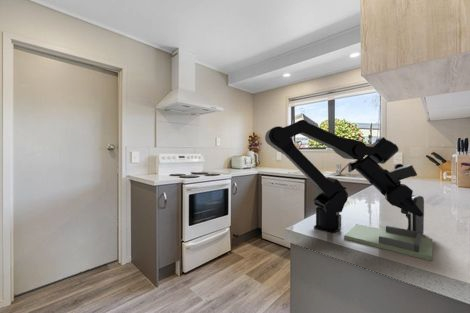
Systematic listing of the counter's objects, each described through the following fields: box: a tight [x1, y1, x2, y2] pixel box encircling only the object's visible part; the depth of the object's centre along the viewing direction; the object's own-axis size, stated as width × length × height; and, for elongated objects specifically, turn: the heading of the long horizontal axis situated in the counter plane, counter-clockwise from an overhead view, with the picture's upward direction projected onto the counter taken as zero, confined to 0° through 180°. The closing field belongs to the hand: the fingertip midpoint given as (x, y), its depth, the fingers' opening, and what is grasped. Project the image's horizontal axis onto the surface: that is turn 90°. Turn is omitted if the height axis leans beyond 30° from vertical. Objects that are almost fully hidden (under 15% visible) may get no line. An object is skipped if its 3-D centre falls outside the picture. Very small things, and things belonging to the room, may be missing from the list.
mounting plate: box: [343, 223, 433, 262], centre depth 58 cm, size 18×13×2 cm
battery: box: [400, 194, 425, 235], centre depth 63 cm, size 7×4×11 cm, turn 123°
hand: (418, 212), depth 62 cm, fingers closed on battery, 7 cm apart
